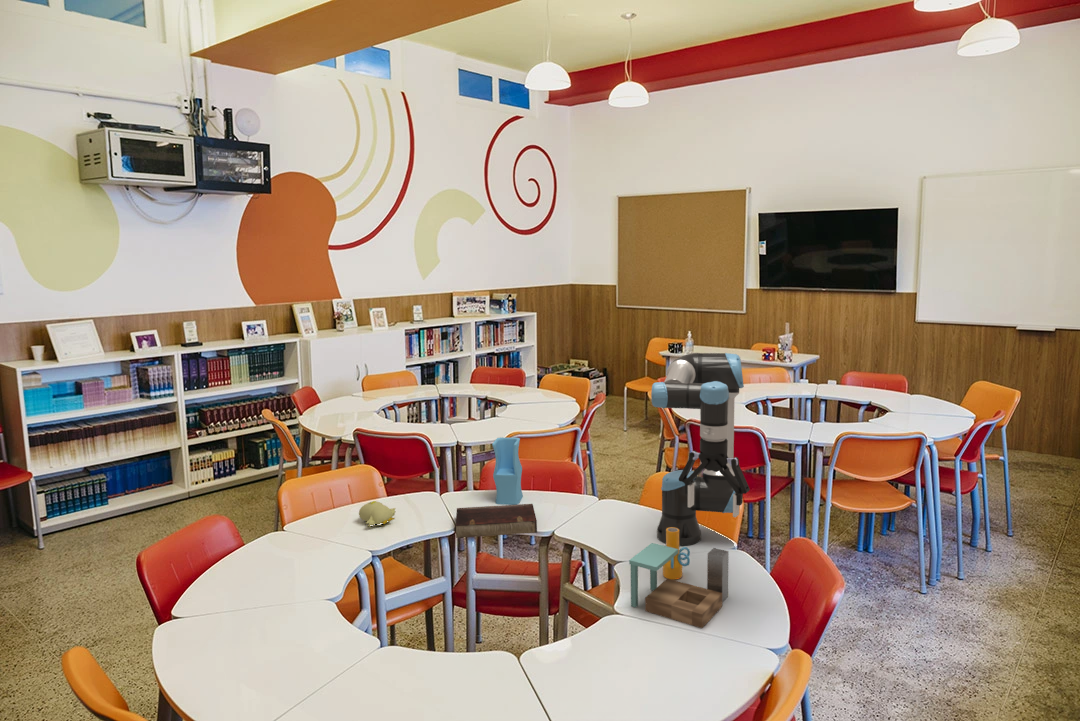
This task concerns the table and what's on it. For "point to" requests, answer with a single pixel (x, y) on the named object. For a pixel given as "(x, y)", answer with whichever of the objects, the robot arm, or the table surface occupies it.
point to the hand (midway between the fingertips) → (713, 510)
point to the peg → (718, 571)
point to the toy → (376, 513)
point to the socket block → (684, 602)
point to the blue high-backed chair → (507, 471)
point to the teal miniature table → (649, 566)
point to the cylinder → (675, 564)
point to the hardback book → (495, 520)
